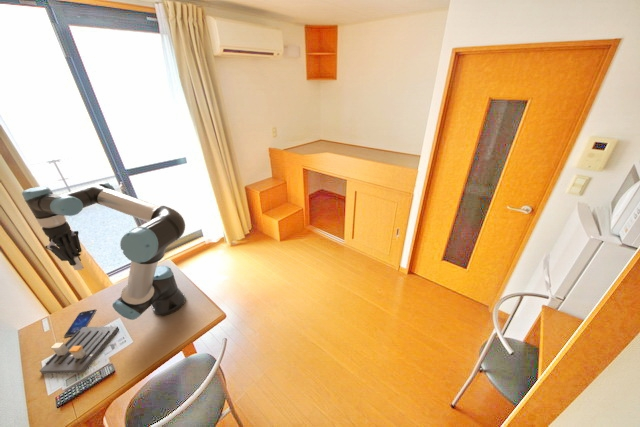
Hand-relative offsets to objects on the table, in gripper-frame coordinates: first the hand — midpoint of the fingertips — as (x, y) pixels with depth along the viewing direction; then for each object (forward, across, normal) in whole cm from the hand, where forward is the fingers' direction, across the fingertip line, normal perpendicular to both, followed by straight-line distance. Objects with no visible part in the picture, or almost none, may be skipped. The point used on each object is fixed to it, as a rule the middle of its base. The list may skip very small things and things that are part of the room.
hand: (79, 269), depth 108 cm
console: (+29, +19, +5) cm, 35 cm away
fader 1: (+27, +22, 0) cm, 35 cm away
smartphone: (+30, +5, -8) cm, 31 cm away
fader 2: (+27, +24, +9) cm, 37 cm away
